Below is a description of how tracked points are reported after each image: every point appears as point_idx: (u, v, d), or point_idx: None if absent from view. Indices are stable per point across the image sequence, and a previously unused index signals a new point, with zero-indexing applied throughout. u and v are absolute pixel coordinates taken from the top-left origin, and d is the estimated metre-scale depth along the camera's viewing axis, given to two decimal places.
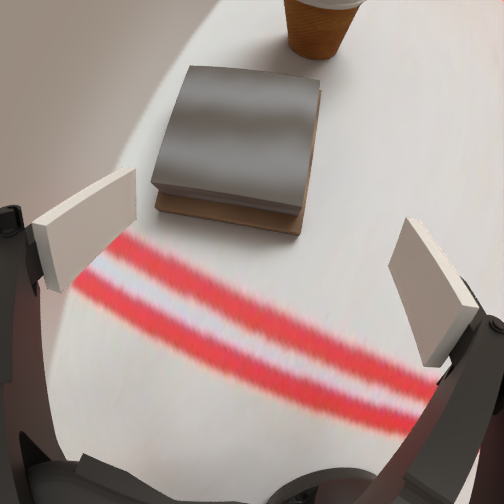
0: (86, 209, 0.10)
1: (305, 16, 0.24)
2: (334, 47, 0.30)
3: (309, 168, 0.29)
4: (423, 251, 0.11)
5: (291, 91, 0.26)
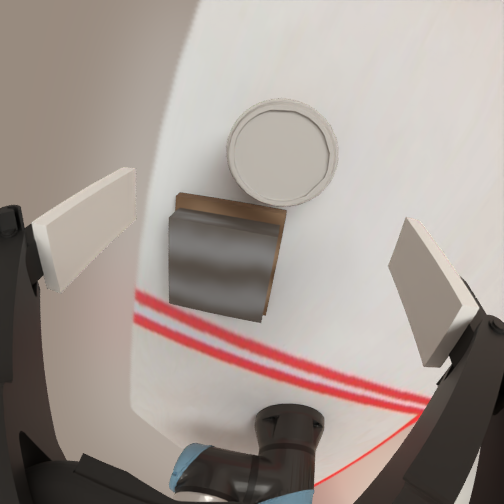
0: (86, 209, 0.10)
1: None
2: None
3: (272, 280, 0.42)
4: (423, 251, 0.11)
5: (253, 249, 0.36)
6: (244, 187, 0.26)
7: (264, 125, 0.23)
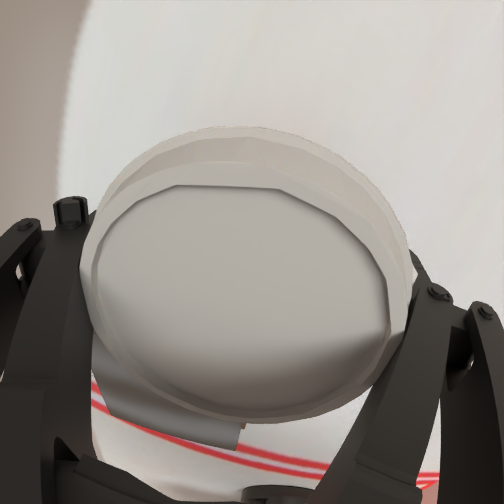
0: None
1: None
2: None
3: None
4: None
5: None
6: (146, 384, 0.09)
7: (166, 237, 0.07)
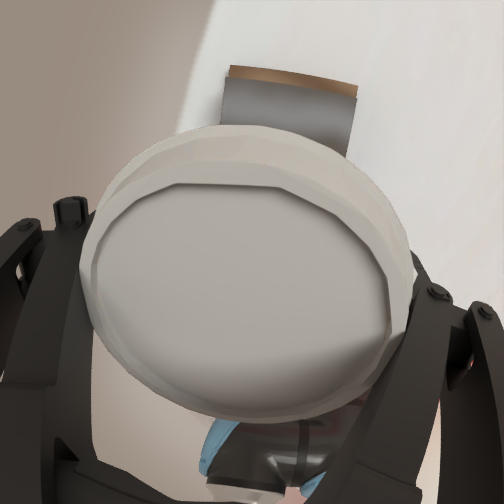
0: None
1: None
2: None
3: None
4: None
5: (328, 112, 0.27)
6: (147, 384, 0.09)
7: (166, 235, 0.07)
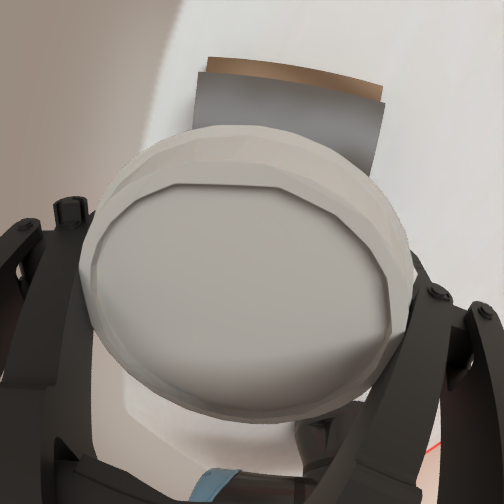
0: None
1: None
2: None
3: None
4: None
5: (345, 122, 0.19)
6: (146, 384, 0.09)
7: (165, 236, 0.07)
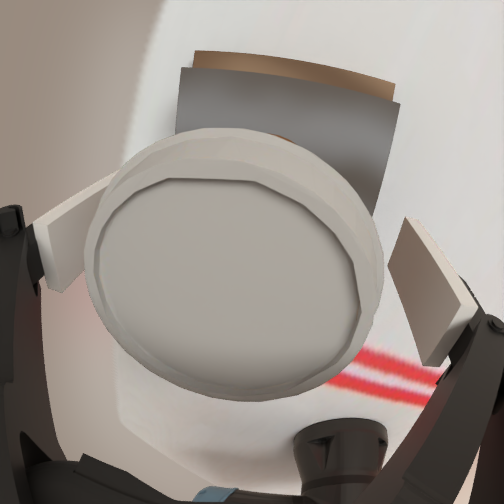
0: (87, 209, 0.10)
1: None
2: None
3: None
4: (422, 250, 0.11)
5: (353, 125, 0.16)
6: (142, 362, 0.10)
7: (160, 223, 0.08)
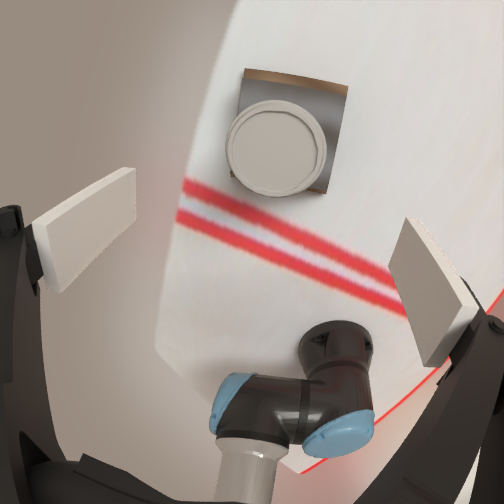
0: (86, 209, 0.10)
1: None
2: None
3: None
4: (423, 251, 0.11)
5: (324, 107, 0.35)
6: (241, 180, 0.29)
7: (259, 124, 0.26)
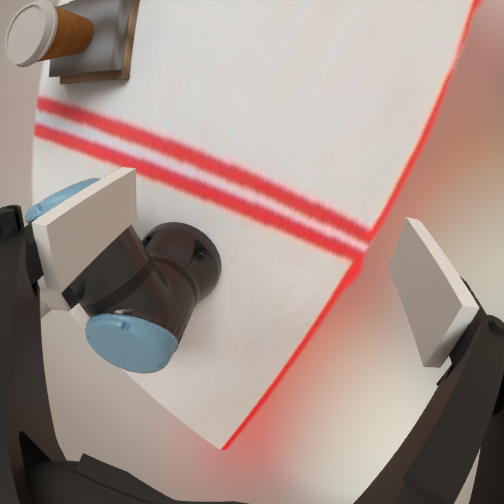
0: (86, 209, 0.10)
1: None
2: (80, 45, 0.31)
3: (127, 40, 0.36)
4: (423, 251, 0.11)
5: (105, 4, 0.30)
6: (9, 59, 0.24)
7: (19, 20, 0.21)
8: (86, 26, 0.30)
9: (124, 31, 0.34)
